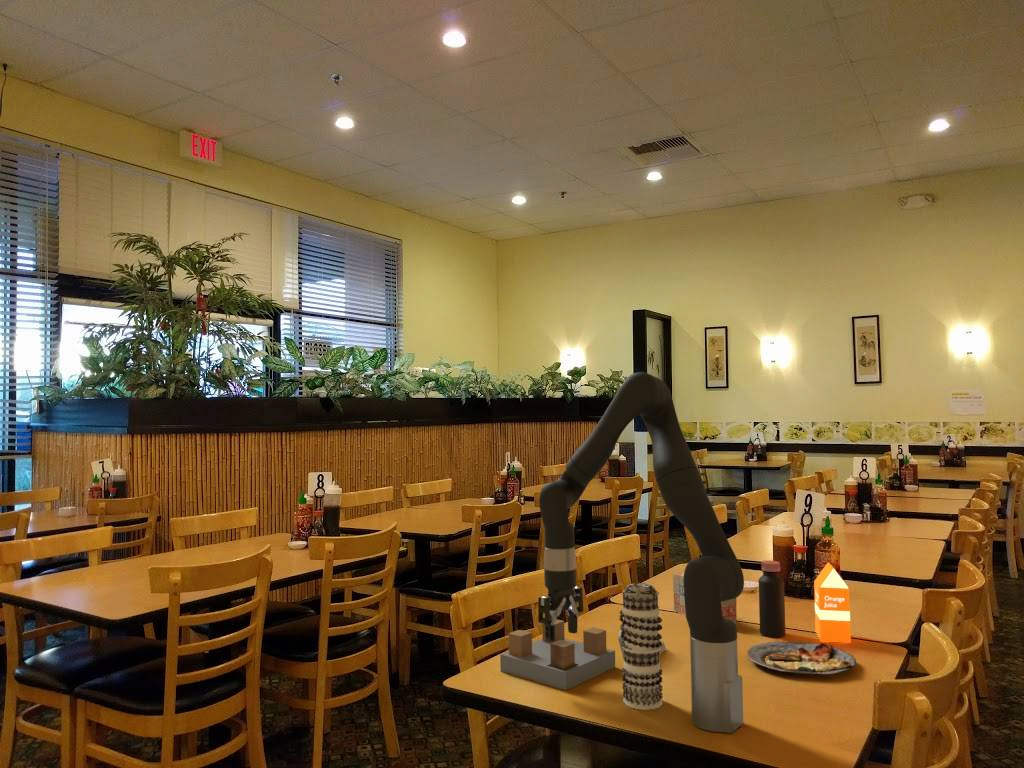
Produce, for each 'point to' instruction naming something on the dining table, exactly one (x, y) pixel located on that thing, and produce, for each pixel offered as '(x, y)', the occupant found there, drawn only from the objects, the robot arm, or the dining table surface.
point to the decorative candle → (641, 647)
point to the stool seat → (536, 659)
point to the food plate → (802, 657)
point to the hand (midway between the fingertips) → (561, 636)
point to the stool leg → (562, 655)
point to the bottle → (771, 600)
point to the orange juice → (832, 607)
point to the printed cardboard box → (679, 600)
